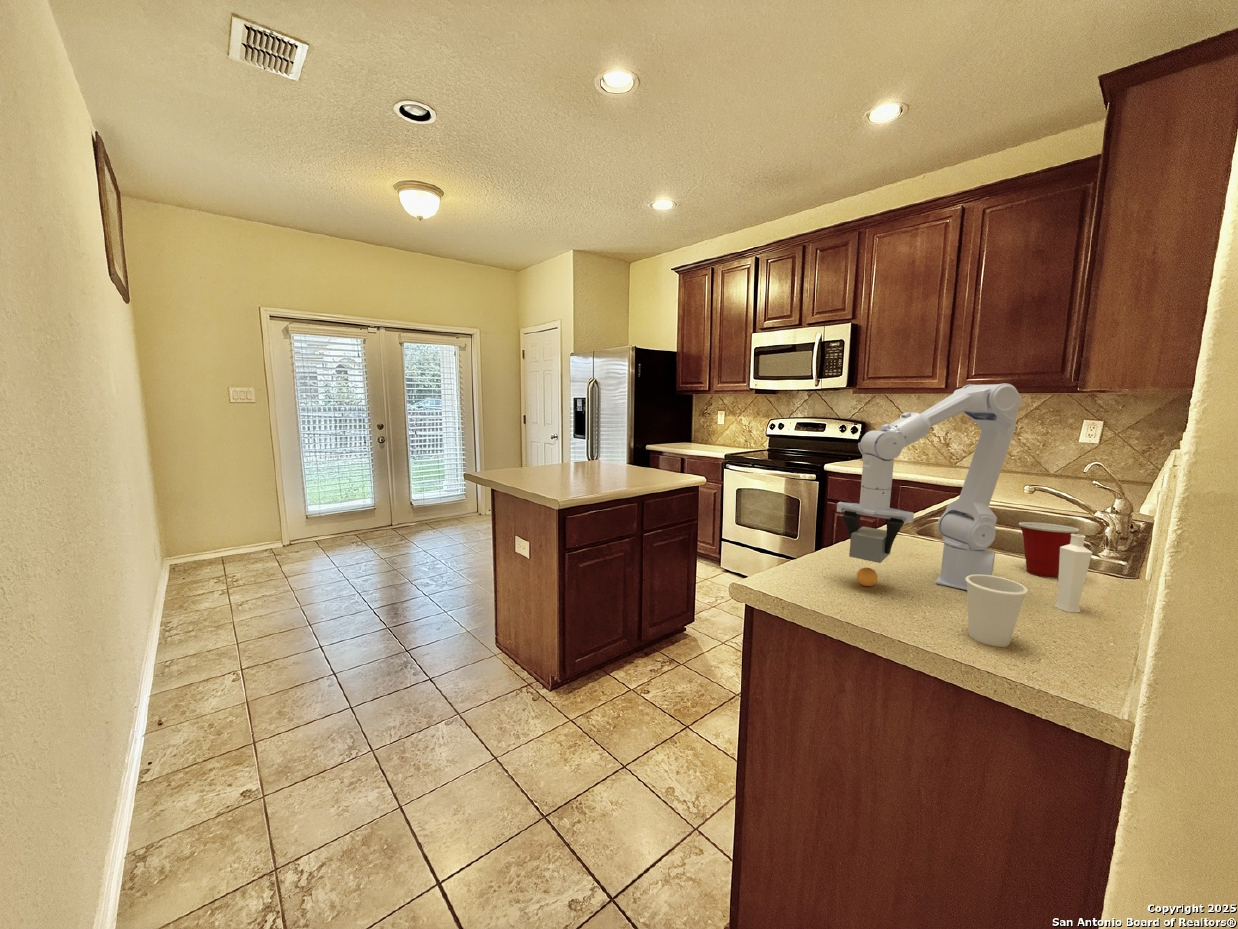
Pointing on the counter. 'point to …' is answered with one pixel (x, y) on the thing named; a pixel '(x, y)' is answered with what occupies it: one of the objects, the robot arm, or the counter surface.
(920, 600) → the counter surface
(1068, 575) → the perfume bottle
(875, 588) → the counter surface
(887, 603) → the counter surface
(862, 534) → the gray block
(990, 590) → the dixie cup
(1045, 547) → the plastic cup
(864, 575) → the ball
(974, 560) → the robot arm
